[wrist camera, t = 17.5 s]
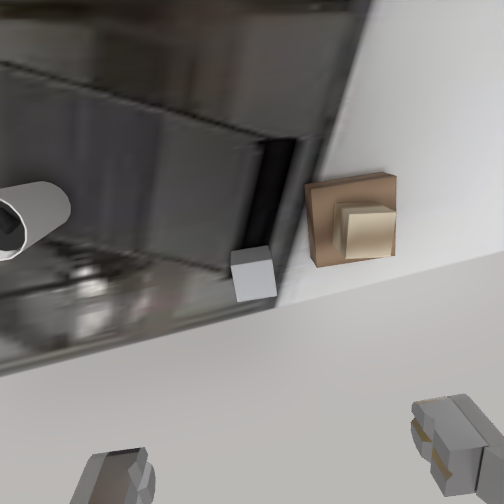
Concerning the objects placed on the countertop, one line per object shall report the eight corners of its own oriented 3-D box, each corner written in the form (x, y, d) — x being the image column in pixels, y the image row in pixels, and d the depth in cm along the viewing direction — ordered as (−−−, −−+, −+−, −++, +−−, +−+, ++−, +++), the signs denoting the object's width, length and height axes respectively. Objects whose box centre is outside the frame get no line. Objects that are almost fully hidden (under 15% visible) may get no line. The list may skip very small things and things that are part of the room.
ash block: (334, 203, 38) (349, 214, 33) (376, 201, 38) (396, 212, 34) (332, 243, 40) (345, 258, 35) (371, 241, 40) (390, 256, 36)
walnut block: (303, 183, 41) (310, 189, 37) (381, 171, 41) (396, 176, 37) (310, 256, 45) (317, 267, 41) (381, 244, 45) (395, 255, 41)
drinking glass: (38, 165, 38) (-24, 177, 29) (86, 205, 40) (41, 229, 31) (6, 204, 39) (-64, 227, 30) (53, 241, 41) (1, 273, 32)
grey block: (231, 251, 43) (230, 265, 39) (267, 245, 43) (272, 259, 39) (237, 284, 45) (237, 302, 41) (272, 278, 45) (276, 295, 41)
